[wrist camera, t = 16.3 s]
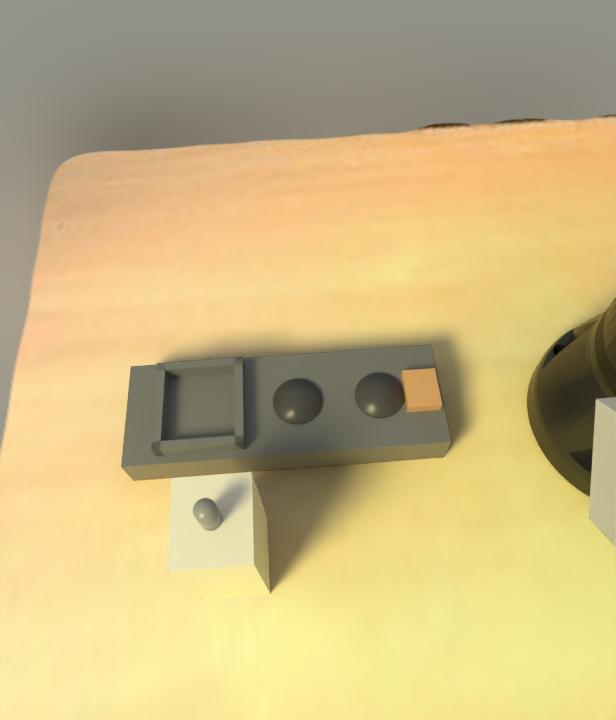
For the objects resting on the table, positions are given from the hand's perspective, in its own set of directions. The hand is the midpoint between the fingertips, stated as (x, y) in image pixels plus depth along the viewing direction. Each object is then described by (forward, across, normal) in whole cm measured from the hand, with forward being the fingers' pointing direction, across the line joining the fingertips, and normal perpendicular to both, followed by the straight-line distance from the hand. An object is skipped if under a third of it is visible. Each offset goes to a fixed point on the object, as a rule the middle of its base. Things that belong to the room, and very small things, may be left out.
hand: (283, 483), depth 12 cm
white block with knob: (+24, -5, -18) cm, 30 cm away
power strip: (+31, -1, -11) cm, 33 cm away
